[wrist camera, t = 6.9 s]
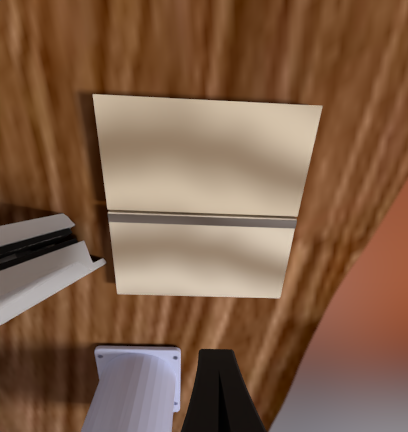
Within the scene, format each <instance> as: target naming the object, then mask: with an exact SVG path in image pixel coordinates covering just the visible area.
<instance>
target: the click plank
mask: <svg viewBox="0 0 408 432" xmlns="http://www.w3.org/2000/svg"><path fill="white" fill-rule="evenodd" d="M93 101H94V109H95V117H96V125H97V132H98V140H99V148H100V156H101V163H102V171H103V179H104V187H105V194H106V202H107V210H134V211H162V212H189V213H216V214H244V215H271V216H298V212H299V207H300V203H301V198H302V194H303V190H304V185H305V181H306V176H307V172H308V168H309V163H310V159H311V154H312V150H313V146H314V141H315V137H316V132H317V128H318V124H319V119H320V115H321V110H322V106H315V105H295V104H275V103H256V102H236V101H217V100H197V99H178V98H158V97H139V96H119V95H100V94H93Z"/></svg>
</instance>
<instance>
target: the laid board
mask: <svg viewBox="0 0 408 432" xmlns="http://www.w3.org/2000/svg"><path fill="white" fill-rule="evenodd" d="M108 222H109V227H110V235H111V244H112V252H113V261H114V270H115V278H116V287H117V294H137V295H175V296H214V297H252V298H280V296H281V291H282V286H283V282H284V277H285V272H286V268H287V263H288V258H289V253H290V249H291V244H292V239H293V235H294V230H295V227H296V223H297V219H296V218H295V216H271V215H244V214H216V213H189V212H162V211H134V210H109V211H108Z"/></svg>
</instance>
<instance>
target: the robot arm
mask: <svg viewBox="0 0 408 432" xmlns="http://www.w3.org/2000/svg"><path fill="white" fill-rule="evenodd" d="M94 353H95V358H96V364H97V369H98V375H99V380H100V381H99V384H98V386H97V389H96V392H95V394H94V397H93V400H92V402H91V405H90V408H89V411H88V413H87V416H86V419H85V421H84V424H83V427H82V430H81V432H171V431H172V419H173V412H178V411H179V410H180V370H181V350H180V349H179V348H178V347H144V346H97V347H96V349H95V351H94ZM181 432H267V431H266V429H265V427H264V425H263V423H262V421H261V419H260V417H259V415H258V413H257V411H256V408H255V406H254V404H253V402H252V399H251V397H250V395H249V393H248V390H247V388H246V385H245V383H244V380H243V378H242V375H241V372H240V370H239V367H238V364H237V361H236V358H235V354H234V351H233V350H227V349H201V350H200V351H199V357H198V367H197V373H196V378H195V383H194V387H193V391H192V395H191V399H190V403H189V407H188V410H187V414H186V417H185V420H184V423H183V426H182V430H181Z"/></svg>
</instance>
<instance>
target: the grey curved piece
mask: <svg viewBox="0 0 408 432" xmlns="http://www.w3.org/2000/svg"><path fill="white" fill-rule="evenodd" d="M74 225H75V224H74V223H73V222H72V221H71V220H70V219H69V218H68V217H67V216H66V215H65V214H63V213H62V214H57V215H52V216H47V217H42V218H37V219H32V220H27V221H22V222H17V223H12V224H7V225H2V226H0V325H2V324H3V323H5V322H7V321H8V320H10V319H12V318H14V317H15V316H17V315H19V314H20V313H22V312H24V311H26V310H27V309H29V308H31V307H32V306H34V305H36V304H38V303H39V302H41V301H43V300H44V299H46V298H48V297H50V296H51V295H53V294H55V293H56V292H58V291H60V290H62V289H63V288H65V287H67V286H68V285H70V284H72V283H74V282H75V281H77V280H79V279H80V278H82V277H84V276H85V275H87V274H89V273H91V272H92V271H94V270H96V269H97V268H99V267H101V266H103V265H104V264H106V261H105V260H104V258H102V259H100V260H98V261H96V262H94V263H93V262H92V260H91V257H90V255H89V252H88V249H87V247H86V244H85V242H84V241H81V242H78V241H77V240H76V238H74V239H71V240H68V241H65V242H62V243H59V244H56V245H55V243H57V242H58V241H60V240H62V239H63V238H65V237H66V236H68V235H69V234H71V233H72V231H71V230H70V228H71V227H73V226H74Z"/></svg>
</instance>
